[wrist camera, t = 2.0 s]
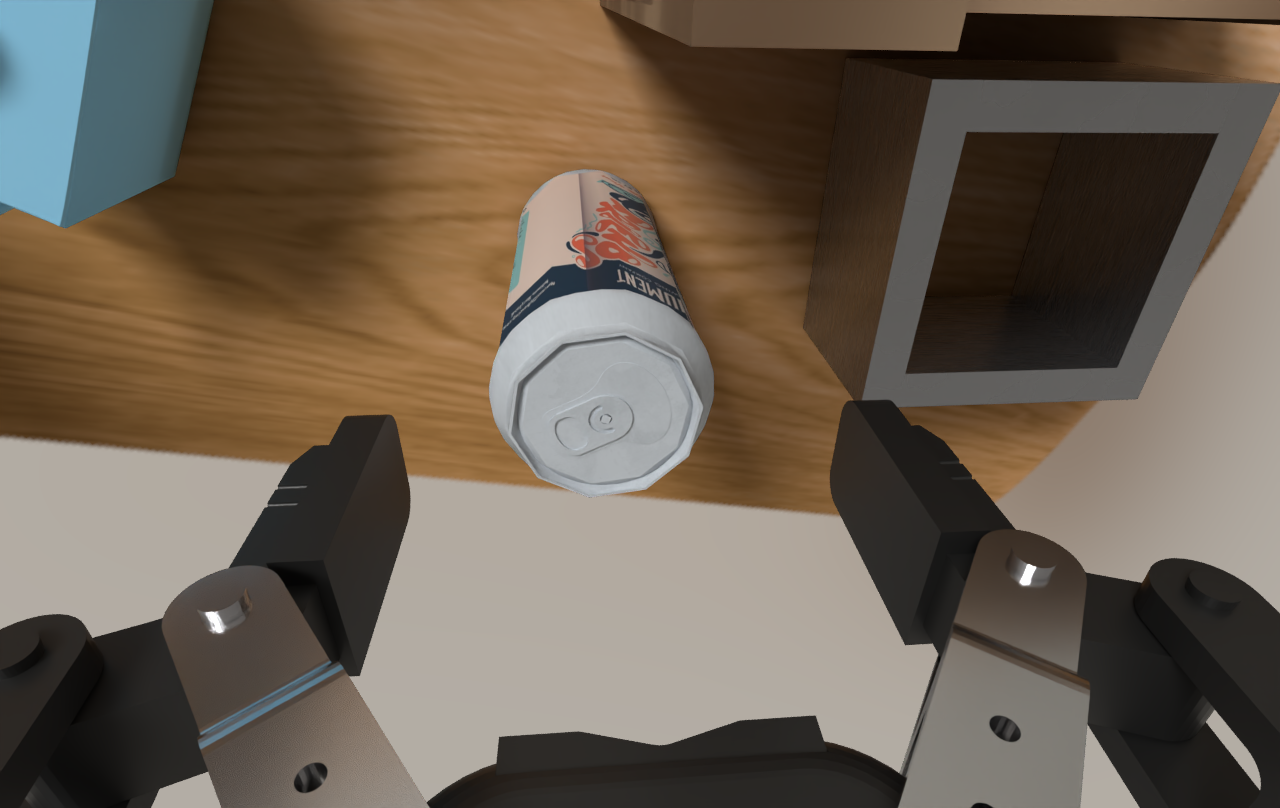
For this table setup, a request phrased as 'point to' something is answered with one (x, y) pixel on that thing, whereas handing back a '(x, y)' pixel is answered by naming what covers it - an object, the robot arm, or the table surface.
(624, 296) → the beer can
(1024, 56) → the table surface
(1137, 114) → the post bracket
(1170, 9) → the headboard panel
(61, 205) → the teapot
